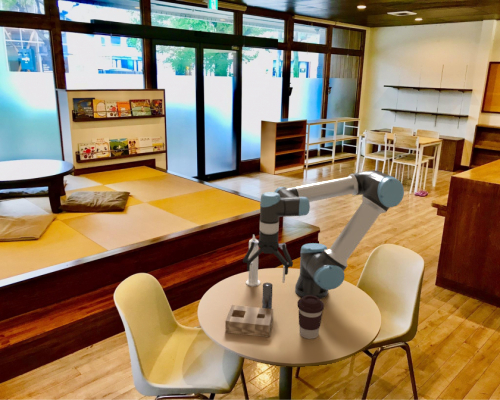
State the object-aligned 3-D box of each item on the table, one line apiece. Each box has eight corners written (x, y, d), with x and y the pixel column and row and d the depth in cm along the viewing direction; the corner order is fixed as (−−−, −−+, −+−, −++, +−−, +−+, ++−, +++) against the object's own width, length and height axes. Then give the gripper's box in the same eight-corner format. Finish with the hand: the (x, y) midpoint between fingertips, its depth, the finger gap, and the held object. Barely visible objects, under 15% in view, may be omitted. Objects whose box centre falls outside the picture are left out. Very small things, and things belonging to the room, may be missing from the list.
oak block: (272, 319, 172) (272, 309, 170) (268, 337, 160) (269, 325, 159) (231, 315, 174) (231, 304, 173) (225, 332, 163) (225, 320, 162)
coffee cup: (304, 323, 170) (306, 290, 165) (326, 333, 164) (329, 298, 159) (291, 334, 162) (292, 300, 158) (313, 344, 156) (315, 309, 152)
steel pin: (272, 310, 179) (273, 283, 175) (271, 315, 175) (271, 287, 171) (262, 309, 179) (263, 282, 176) (261, 314, 175) (262, 286, 172)
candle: (258, 287, 198) (259, 237, 191) (244, 285, 200) (244, 236, 193) (261, 280, 205) (262, 232, 198) (247, 279, 206) (247, 231, 199)
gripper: (301, 230, 168) (298, 278, 174) (239, 225, 172) (239, 272, 178) (300, 237, 161) (297, 286, 167) (236, 231, 165) (235, 280, 171)
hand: (267, 279), depth 173 cm, fingers open, 13 cm apart
